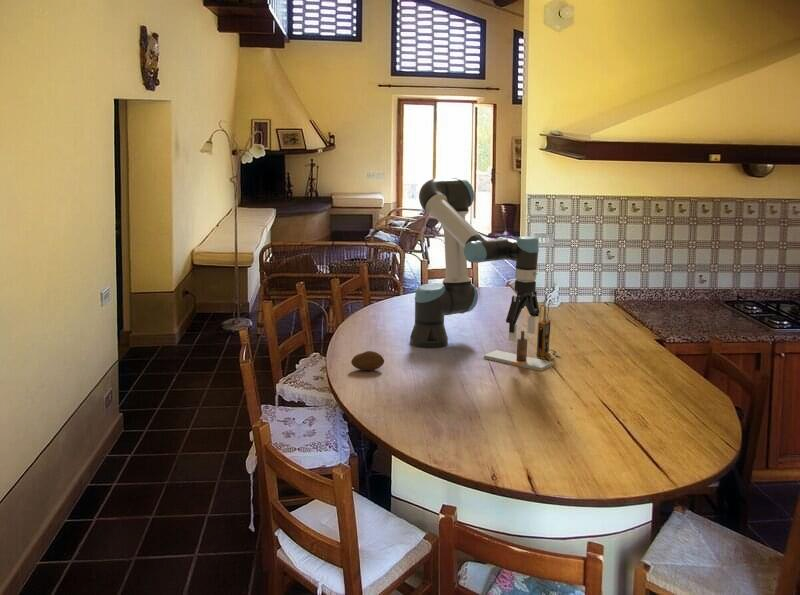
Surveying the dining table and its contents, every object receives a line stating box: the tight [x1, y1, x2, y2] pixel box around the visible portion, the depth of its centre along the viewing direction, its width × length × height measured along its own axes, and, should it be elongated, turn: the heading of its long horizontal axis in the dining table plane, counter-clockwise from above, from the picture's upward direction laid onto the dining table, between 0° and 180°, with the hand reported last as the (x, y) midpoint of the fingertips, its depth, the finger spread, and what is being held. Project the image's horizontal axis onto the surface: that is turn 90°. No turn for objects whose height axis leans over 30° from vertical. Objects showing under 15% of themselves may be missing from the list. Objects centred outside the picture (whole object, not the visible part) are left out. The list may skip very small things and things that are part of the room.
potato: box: [350, 350, 385, 371], centre depth 272 cm, size 7×12×7 cm, turn 101°
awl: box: [516, 330, 528, 362], centre depth 282 cm, size 4×4×11 cm
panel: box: [483, 349, 554, 372], centre depth 285 cm, size 24×9×1 cm, turn 52°
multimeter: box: [536, 301, 562, 361], centre depth 292 cm, size 15×10×20 cm
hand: (521, 337), depth 282 cm, fingers open, 13 cm apart
